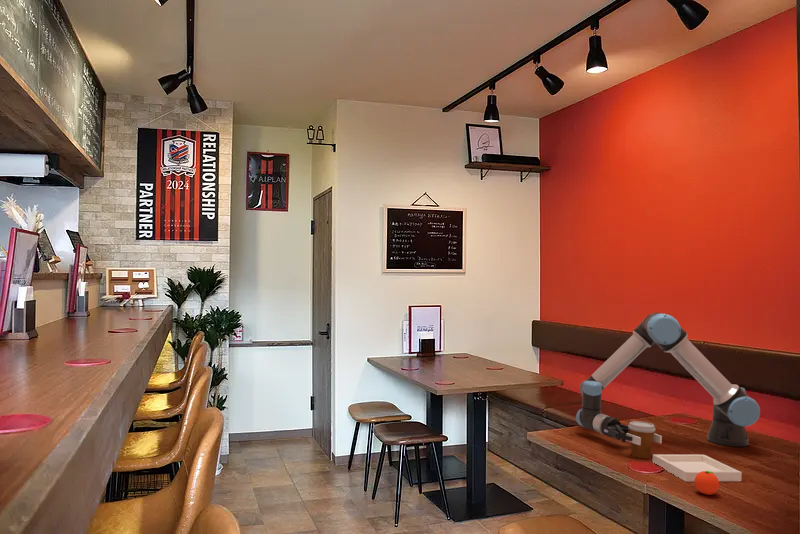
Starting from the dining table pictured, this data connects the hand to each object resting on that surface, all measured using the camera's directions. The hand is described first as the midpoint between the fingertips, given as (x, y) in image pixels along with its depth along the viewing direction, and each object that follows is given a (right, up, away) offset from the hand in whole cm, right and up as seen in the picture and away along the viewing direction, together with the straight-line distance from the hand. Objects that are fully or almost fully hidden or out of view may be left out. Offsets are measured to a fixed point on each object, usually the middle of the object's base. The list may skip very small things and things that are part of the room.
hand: (650, 440), depth 228 cm
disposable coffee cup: (-2, -7, +4) cm, 8 cm away
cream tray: (+10, -7, -12) cm, 18 cm away
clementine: (+4, -7, -35) cm, 35 cm away
